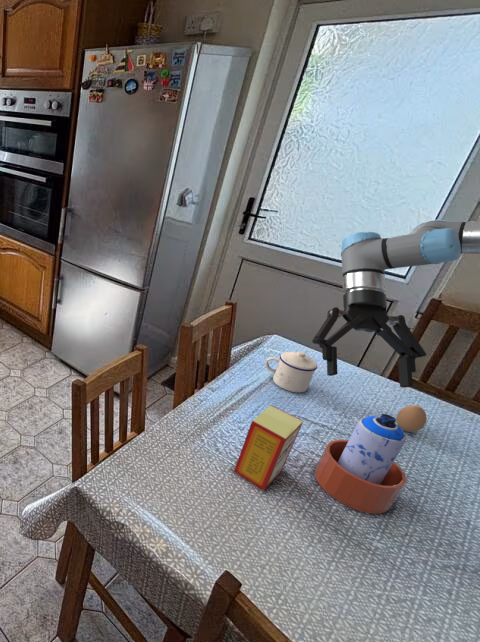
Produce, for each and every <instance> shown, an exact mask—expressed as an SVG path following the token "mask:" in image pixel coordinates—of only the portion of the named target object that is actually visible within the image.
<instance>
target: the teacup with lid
mask: <svg viewBox="0 0 480 642" xmlns="http://www.w3.org/2000/svg"><path fill="white" fill-rule="evenodd" d="M270 361H275V362H277V363H278V364H277V365H276V369H275V368H272V367H271V366H270V365H269V362H270ZM264 362H265V367H266V369H267V370H268V371H269V372H271V373H274V374H273V377H272V380H273V383H274V384H276V385H277V386H278V387H279V388H281V389H283V390H285V391H288V392H292V393H298V394H299V393H305V392H306V391H308V388H309V386H310V383H311V381H312V379H313V376H314V374H315V371H316V370H317V369H318V363H317V362H316V361H315V360H314V358H312V357H310V356H308V355H307V354H306V352H304V351H301V350H299V351H285V352H282V353H281V354H280V355H279V358H278V357H274V356H270V357H267V358H266V360H265V361H264Z"/></svg>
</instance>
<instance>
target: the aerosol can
mask: <svg viewBox="0 0 480 642" xmlns="http://www.w3.org/2000/svg"><path fill="white" fill-rule="evenodd" d="M357 421H358V422H357V423H356V425H355V426H354V427H355V428H354V429H353V431H352V433H351V435H350V437H349V439H348V440H349V441H348V443H347V445H346V447H345V449H344V451H343V453H342V455H341V457H340V459H339V461H338V464H339V465H340V466H341V467H343V468H344V469H345V470H347V471H348V472H350V473H352V474H353V475H355V476H357V477H359V478H361V479H363V480H366V481H368V482H371V483H375V484H379V485H380V484H381V482H382V481H383V479H384V477H385V476H386V474H387V472H388V471H389V469H390V467H391V465H392V464H393V462H395V461H396V459H397V457H398V456H399V454H400V452H401V450H402V448H403V447H404V445H405V443H406V442H407V441H406V439H407V436H406V434H405V431H404V430H403V429H401V428H400V427H399V426H398V424H397V421H396V417H394V416H392V415H390V414H386V413H381V414H380V416H378V415H369V416H364V417H361V418H360V419H358V420H357Z"/></svg>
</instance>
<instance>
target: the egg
mask: <svg viewBox="0 0 480 642" xmlns="http://www.w3.org/2000/svg"><path fill="white" fill-rule="evenodd" d="M427 417H428V416H427V412H426V411H425V409H424V408H422V407H421V406H419V405H418V404H417V405H416V404H411V405H410V404H409V405H407V406H405V407H403V408H401V409H400V410H399V411H398V412H397V414H396V417H395V419H396V421H395V422H396V424H397V425H398V426H399V427H400V428H401V429H402V431H404V432H407V433H408V432H409V433H414V432H418V431H420V430H422V429H423V428H424V427H425V426H426V424H427V421H428V420H427V419H428V418H427Z"/></svg>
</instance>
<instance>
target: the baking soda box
mask: <svg viewBox="0 0 480 642" xmlns="http://www.w3.org/2000/svg"><path fill="white" fill-rule="evenodd" d="M303 423H304V420H303V419H301V418H299V417H296V416H294V415H293V414H291V413H288V412H286V411H284V410H282V409H281V408H278V407H277V406H274V405H272V404H270V405H269V406H268V407H267V408H265V409H264V410H263V411H262V412H261V413H260V414H259V415H257V416H256V417H255V418H254V419H253V420H252V421H251V423H250V426H249V429H248V431H247V434H246V437H245V439H244V442H243V445H242V447H241V450H240V453H239V456H238V458H237V461H236V464H235V467H234V469H233V472H235V474H237V475H239V476H241V477H242V478H244V479H245V480H246V481H248V482H250V483H251V484H252V485H254V486H256V487H257V488H259V489H260V490H261V491H265V490H267V488H268V487H269V485H271V483H272V482H273V481H274V480H275V479H276V478H277V477H278V476H279V475H280V474H281V472H283V470H284V467H285V464H287V460H288V458H289V456H290V453H291V451H292V449H293V447H294V444H295V443H296V442H295V441H296V440H297V437H298V436H299V433H300V430H301V428H302V425H303Z"/></svg>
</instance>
